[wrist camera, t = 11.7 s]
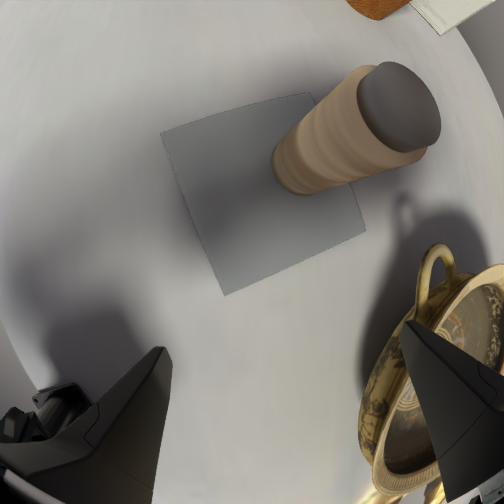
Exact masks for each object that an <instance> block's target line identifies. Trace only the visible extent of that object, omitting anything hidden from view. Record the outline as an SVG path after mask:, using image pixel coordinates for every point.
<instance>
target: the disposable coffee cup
mask: <svg viewBox="0 0 504 504" xmlns="http://www.w3.org/2000/svg"><path fill="white" fill-rule="evenodd" d="M346 1H347V2H348V3H349V4H350V5H351V6H352V7H353V8H354V9H356V10H357V11H358V12H360V13H361V14H363V15H365V16H367V17H369V18H371V19H374V20H382V19H384V18H385V17H387V16H388V15H390V14H391V13H393V12H394V11H396V10H398V9H399V8H401V7H402V6H404V5H406V4H407V3H409V2H411V1H412V0H346Z"/></svg>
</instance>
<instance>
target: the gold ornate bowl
mask: <svg viewBox="0 0 504 504" xmlns="http://www.w3.org/2000/svg"><path fill="white" fill-rule="evenodd" d="M439 256H440V257H441V258H442V259H443V261H444V264H445V268H446V279H445V280H443V281H442V282H440V283H439V284H437V285H436V286H434V287H433V288H431V289H430V290H429V282H430V276H431V269H432V266H433V263H434V261H435V259H436V258H437V257H439ZM411 319H414V320H416V321H418V322H419V323H421V324H422V325H424V326H426V327H427V328H429V329H430V330H432V331H434V332H435V333H437V334H438V335H440V336H441V337H443V338H445V339H446V340H448V341H449V342H451V343H452V344H454V345H456V346H457V347H459V348H460V349H462V350H463V351H465V352H466V353H468V354H469V355H471V356H472V357H474V358H476V359H477V360H478V361H480V362H482V363H483V364H485V365H486V366H488V367H489V368H491V369H493V370H494V371H496V372H498V373H500V374H501V375H503V376H504V264H496V265H493V266H491V267H488V268H487V269H485V270H483V271H482V272H480V273H469V272H468V273H461V274H458V273H457V268H456V265H455V261H454V258H453V255H452V253H451V251H450V249H449V248H448V247H447V246H446V245H445V244H443V243H436V244H434V245H432V246H431V247H429V249H428V250H427V251H426V252H425V254H424V256H423V258H422V261H421V263H420V267H419V272H418V278H417V286H416V299H415V305H414V306H413V307H412V308H411V309H410V311H409V312H408V313H407V314H406V315H405V317H404V318H403V319H402V321H401V322H400V323H399V325H398V326H397V328H396V329H395V331H394V332H393V334H392V335H391V337H390V339H389V340H388V342H387V344H386V345H385V347H384V349H383V351H382V353H381V354H380V356H379V358H378V360H377V362H376V365H375V367H374V369H373V371H372V373H371V376H370V378H369V381H368V383H367V386H366V389H365V392H364V395H363V399H362V402H361V406H360V411H359V419H358V439H359V445H360V449H361V451H362V453H363V455H364V457H365V458H366V460H367V462H368V463H369V464H370V465H371V466H372V480H373V483H374V486H375V488H376V489H377V491H378V492H380V493H381V494H383V495H387V496H399V495H404V494H407V493H410V492H412V491H414V490H417V489H419V488H421V487H423V486H424V485H426V484H428V483H429V482H431V481H432V480H434V479H435V478H437V477H438V476H440V475H441V474H440V470H439V466H438V463H437V461H438V460H437V458H436V455H435V451H434V448H433V444H432V441H431V437H430V434H429V431H428V428H427V425H426V422H425V418H424V415H423V413H422V410H421V407H420V404H419V401H418V398H417V395H416V393H415V390H414V387H413V385H412V382H411V379H410V377H409V374H408V370H407V367H406V363H405V359H404V356H403V352H402V348H401V345H400V341H399V337H400V333H401V329H402V325H403V322H404V321H406V320H411Z"/></svg>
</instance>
